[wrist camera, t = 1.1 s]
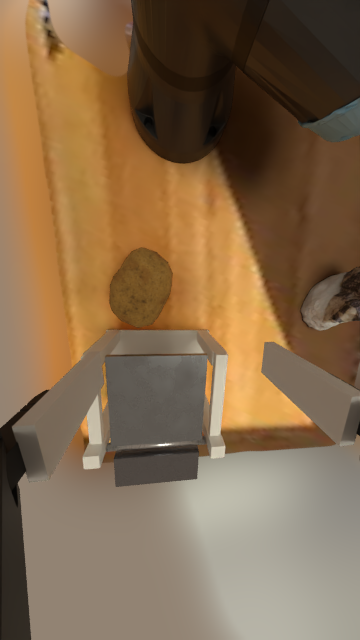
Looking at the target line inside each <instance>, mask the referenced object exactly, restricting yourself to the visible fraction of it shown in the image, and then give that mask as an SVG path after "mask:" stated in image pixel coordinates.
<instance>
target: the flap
mask: <svg viewBox="0 0 360 640" xmlns="http://www.w3.org/2000/svg"><path fill="white" fill-rule="evenodd" d="M207 358H208V355H207V353H195V354H122V355H106V356H105V364H106V379H107V393H108V408H109V423H110V438H111V443H107V445H106V452H108V451H116V453H115V457H114V468H115V484H116V487H119V486H129V485H140V484H150V483H160V482H170V481H181V480H191V479H197V471H198V456H199V451H198V447H197V445H202V444H206V437H205V436H202V427H203V413H204V399H205V386H206V372H207Z"/></svg>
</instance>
